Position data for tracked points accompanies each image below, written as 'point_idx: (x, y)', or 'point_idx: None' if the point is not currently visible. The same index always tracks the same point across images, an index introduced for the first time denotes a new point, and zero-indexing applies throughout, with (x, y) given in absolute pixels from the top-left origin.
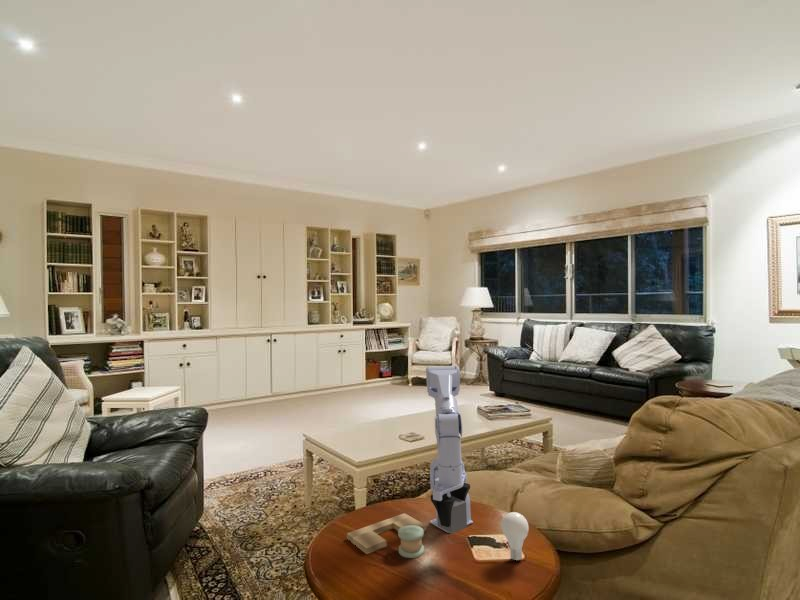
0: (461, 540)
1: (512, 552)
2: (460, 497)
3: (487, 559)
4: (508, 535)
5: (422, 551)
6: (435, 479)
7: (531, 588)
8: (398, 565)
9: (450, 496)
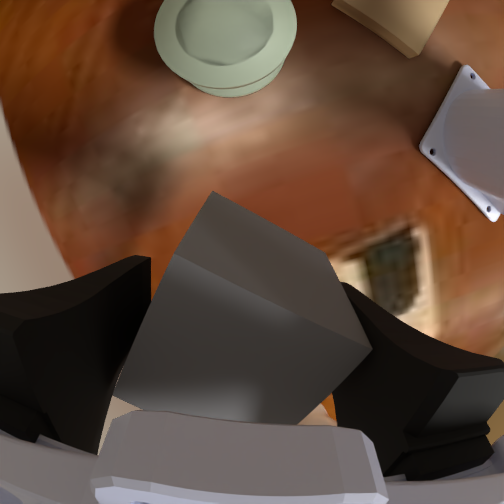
0: (381, 210)
1: None
2: (347, 408)
3: None
4: None
5: (222, 96)
6: (171, 499)
7: None
8: (121, 55)
9: (356, 341)
